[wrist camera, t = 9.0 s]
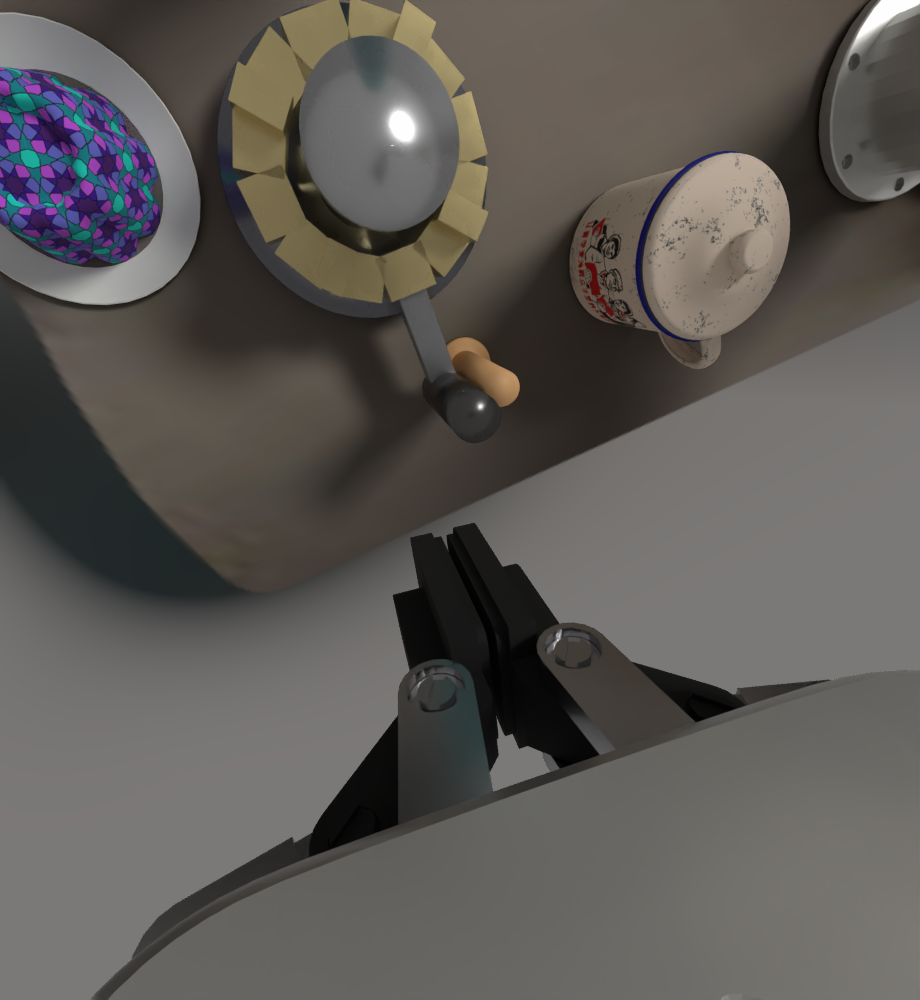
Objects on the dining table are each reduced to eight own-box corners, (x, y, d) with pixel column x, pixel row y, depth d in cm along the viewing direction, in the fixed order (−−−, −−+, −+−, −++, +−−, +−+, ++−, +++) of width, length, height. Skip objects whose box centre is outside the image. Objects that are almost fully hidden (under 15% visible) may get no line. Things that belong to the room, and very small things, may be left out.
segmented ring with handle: (189, 78, 22) (138, -2, 16) (423, -8, 23) (468, -117, 17) (366, 442, 32) (380, 487, 25) (529, 370, 33) (584, 395, 26)
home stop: (492, 342, 34) (540, 361, 27) (481, 393, 35) (524, 424, 28) (442, 332, 32) (478, 349, 25) (433, 386, 34) (464, 416, 27)
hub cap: (499, 77, 28) (597, -24, 18) (451, 334, 33) (508, 359, 23) (226, -29, 23) (168, -237, 14) (220, 288, 28) (175, 297, 19)
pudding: (168, 30, 24) (133, -28, 19) (226, 299, 29) (210, 304, 24) (-142, 8, 21) (-270, -66, 16) (-16, 309, 26) (-86, 317, 21)
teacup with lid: (544, 222, 31) (655, 199, 21) (664, 151, 32) (832, 94, 21) (600, 384, 37) (709, 427, 27) (701, 324, 37) (847, 344, 27)
